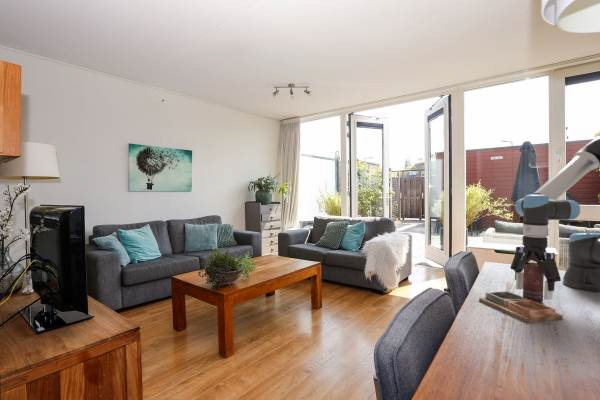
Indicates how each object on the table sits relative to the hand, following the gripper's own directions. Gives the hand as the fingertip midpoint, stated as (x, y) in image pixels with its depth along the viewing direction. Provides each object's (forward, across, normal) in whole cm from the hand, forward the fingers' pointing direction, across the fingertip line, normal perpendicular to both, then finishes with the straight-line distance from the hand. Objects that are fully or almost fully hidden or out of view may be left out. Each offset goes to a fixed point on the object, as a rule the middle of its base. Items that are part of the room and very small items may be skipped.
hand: (533, 293), depth 121 cm
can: (+3, 0, 0) cm, 3 cm away
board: (+3, +6, -13) cm, 15 cm away
